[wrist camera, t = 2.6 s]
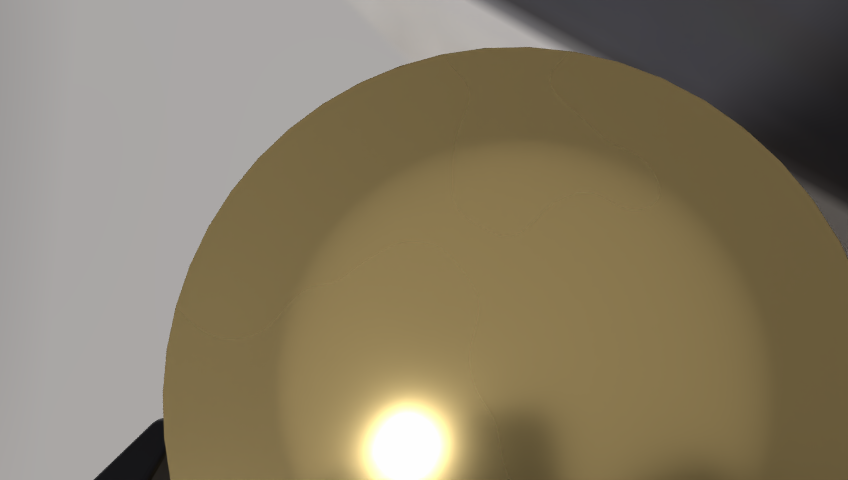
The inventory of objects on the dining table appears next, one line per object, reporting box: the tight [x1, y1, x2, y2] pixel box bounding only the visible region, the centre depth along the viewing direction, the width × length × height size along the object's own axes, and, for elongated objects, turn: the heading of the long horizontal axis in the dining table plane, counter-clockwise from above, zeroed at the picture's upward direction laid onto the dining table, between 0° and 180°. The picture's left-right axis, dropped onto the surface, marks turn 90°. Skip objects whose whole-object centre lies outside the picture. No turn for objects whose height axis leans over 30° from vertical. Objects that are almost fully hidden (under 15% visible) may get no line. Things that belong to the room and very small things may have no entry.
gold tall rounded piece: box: [163, 47, 848, 480], centre depth 12 cm, size 5×5×13 cm
